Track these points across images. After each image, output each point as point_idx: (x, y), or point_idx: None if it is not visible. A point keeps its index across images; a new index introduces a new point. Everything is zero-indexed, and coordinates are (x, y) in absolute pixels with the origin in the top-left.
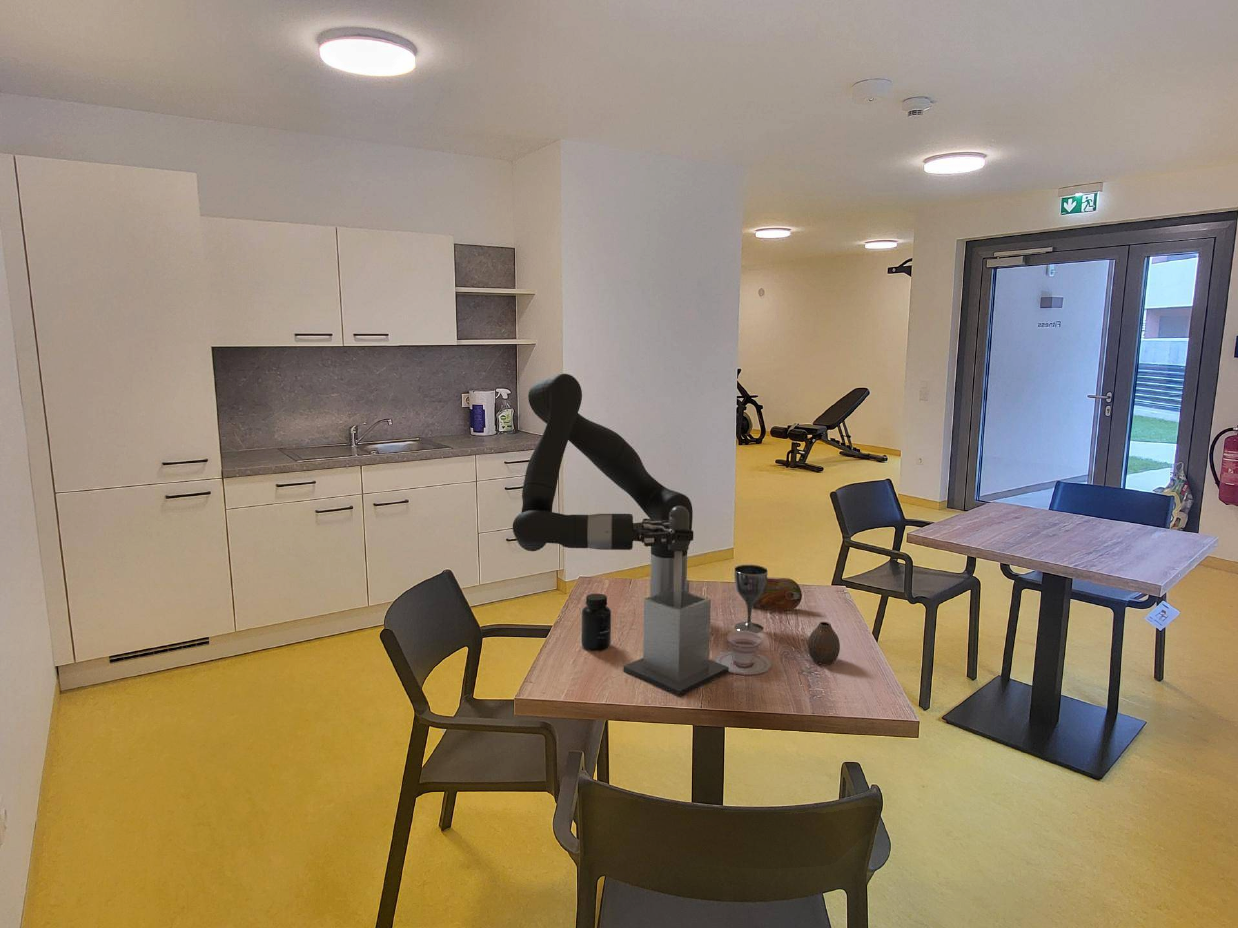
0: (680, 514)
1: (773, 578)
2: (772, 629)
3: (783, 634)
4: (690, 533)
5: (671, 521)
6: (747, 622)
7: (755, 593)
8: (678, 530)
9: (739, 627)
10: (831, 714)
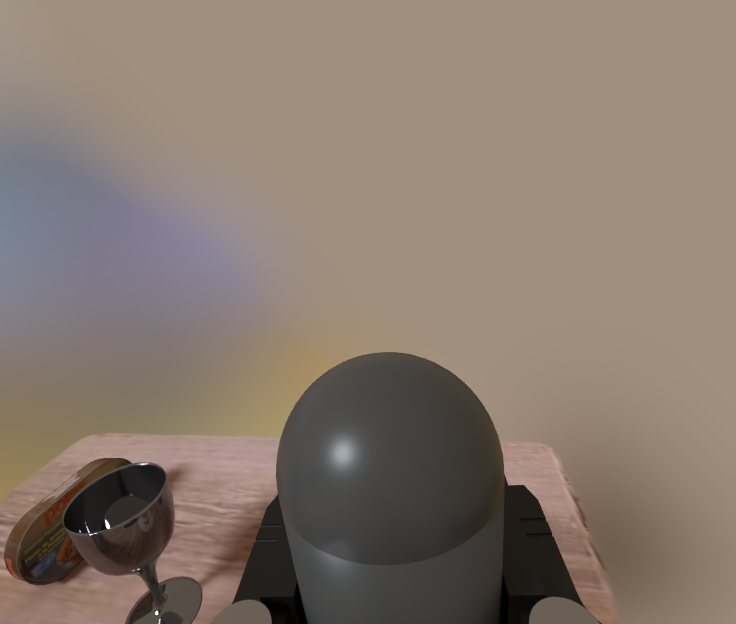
0: (491, 420)
1: (67, 487)
2: (199, 558)
3: (233, 541)
4: (525, 489)
5: (476, 577)
6: (159, 606)
7: (173, 529)
8: (533, 564)
9: None
10: (578, 525)
